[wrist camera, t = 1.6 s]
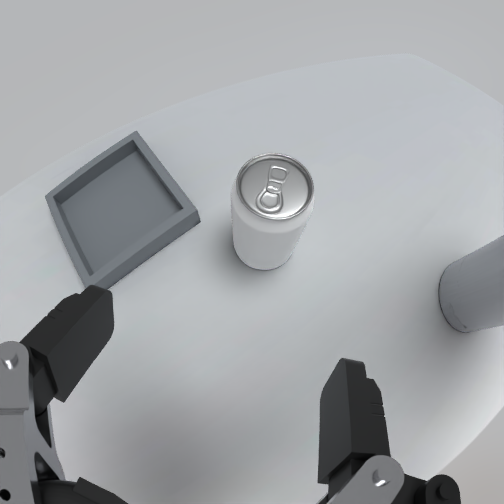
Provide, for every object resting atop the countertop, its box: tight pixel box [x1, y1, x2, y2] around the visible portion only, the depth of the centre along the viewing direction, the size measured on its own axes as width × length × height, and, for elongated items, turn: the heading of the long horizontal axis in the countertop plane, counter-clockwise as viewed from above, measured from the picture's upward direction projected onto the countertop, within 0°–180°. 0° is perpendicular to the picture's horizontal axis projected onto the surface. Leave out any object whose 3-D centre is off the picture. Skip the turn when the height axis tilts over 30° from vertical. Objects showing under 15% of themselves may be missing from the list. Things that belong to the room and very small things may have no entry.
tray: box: [45, 131, 201, 290], centre depth 32 cm, size 14×14×3 cm
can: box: [231, 153, 314, 270], centre depth 28 cm, size 6×6×12 cm
